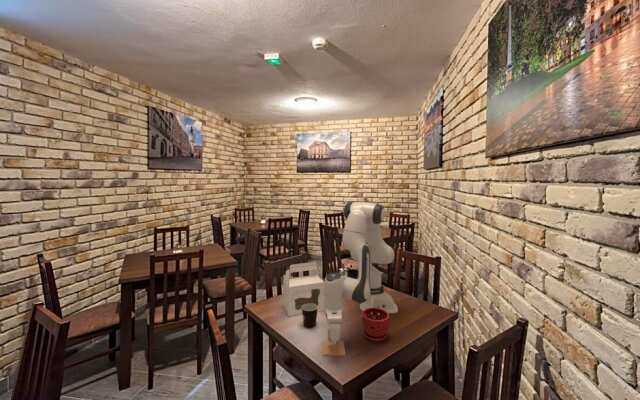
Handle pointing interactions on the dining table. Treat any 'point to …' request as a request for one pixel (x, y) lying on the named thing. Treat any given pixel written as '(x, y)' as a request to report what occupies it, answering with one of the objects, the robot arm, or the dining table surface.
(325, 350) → the plate
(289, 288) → the gable box
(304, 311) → the coffee mug
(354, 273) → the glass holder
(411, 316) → the dining table surface
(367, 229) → the robot arm
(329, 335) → the beech cube
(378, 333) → the plant pot
